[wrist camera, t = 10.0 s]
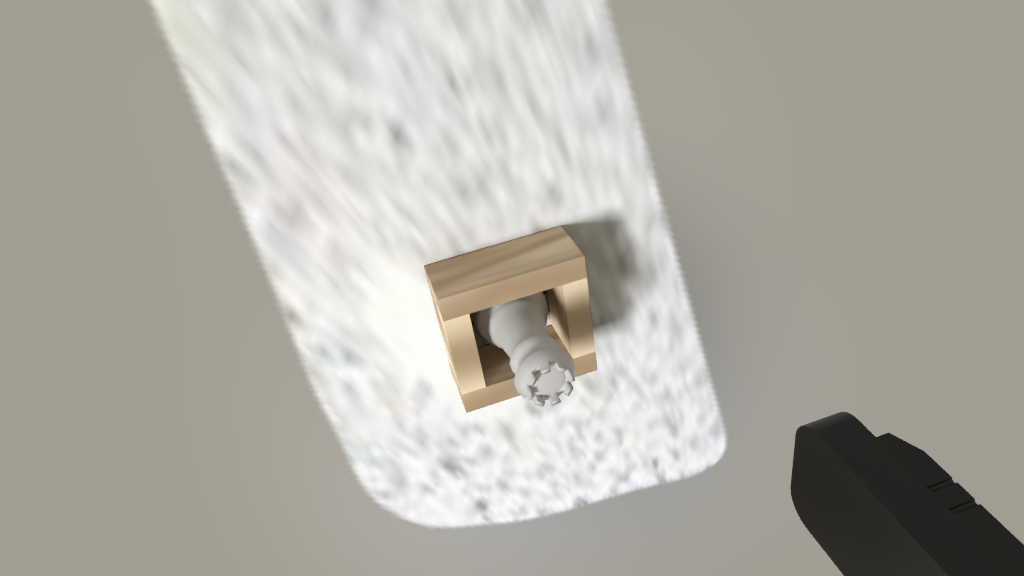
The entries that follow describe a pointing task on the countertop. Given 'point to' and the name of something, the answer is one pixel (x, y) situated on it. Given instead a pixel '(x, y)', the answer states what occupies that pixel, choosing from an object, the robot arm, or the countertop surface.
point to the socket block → (500, 280)
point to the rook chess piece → (528, 347)
